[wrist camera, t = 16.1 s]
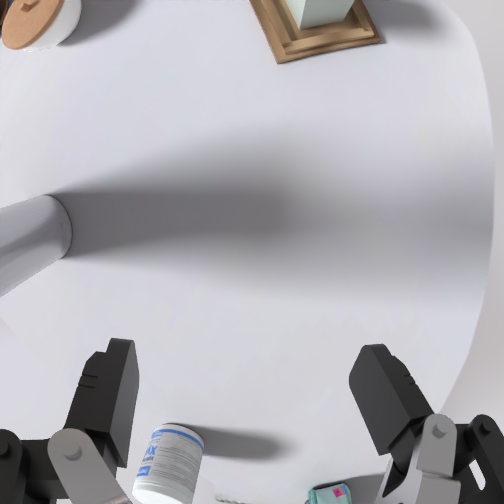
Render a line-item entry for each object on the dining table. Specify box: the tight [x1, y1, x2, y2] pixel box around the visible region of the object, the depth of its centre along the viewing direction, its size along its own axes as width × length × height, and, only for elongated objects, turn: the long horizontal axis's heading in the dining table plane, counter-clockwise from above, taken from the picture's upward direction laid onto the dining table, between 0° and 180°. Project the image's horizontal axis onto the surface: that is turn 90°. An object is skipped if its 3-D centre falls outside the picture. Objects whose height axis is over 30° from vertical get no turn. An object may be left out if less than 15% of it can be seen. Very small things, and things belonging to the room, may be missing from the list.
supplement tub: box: [132, 424, 204, 504], centre depth 40 cm, size 10×10×15 cm
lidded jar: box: [2, 0, 82, 52], centre depth 21 cm, size 11×11×9 cm
